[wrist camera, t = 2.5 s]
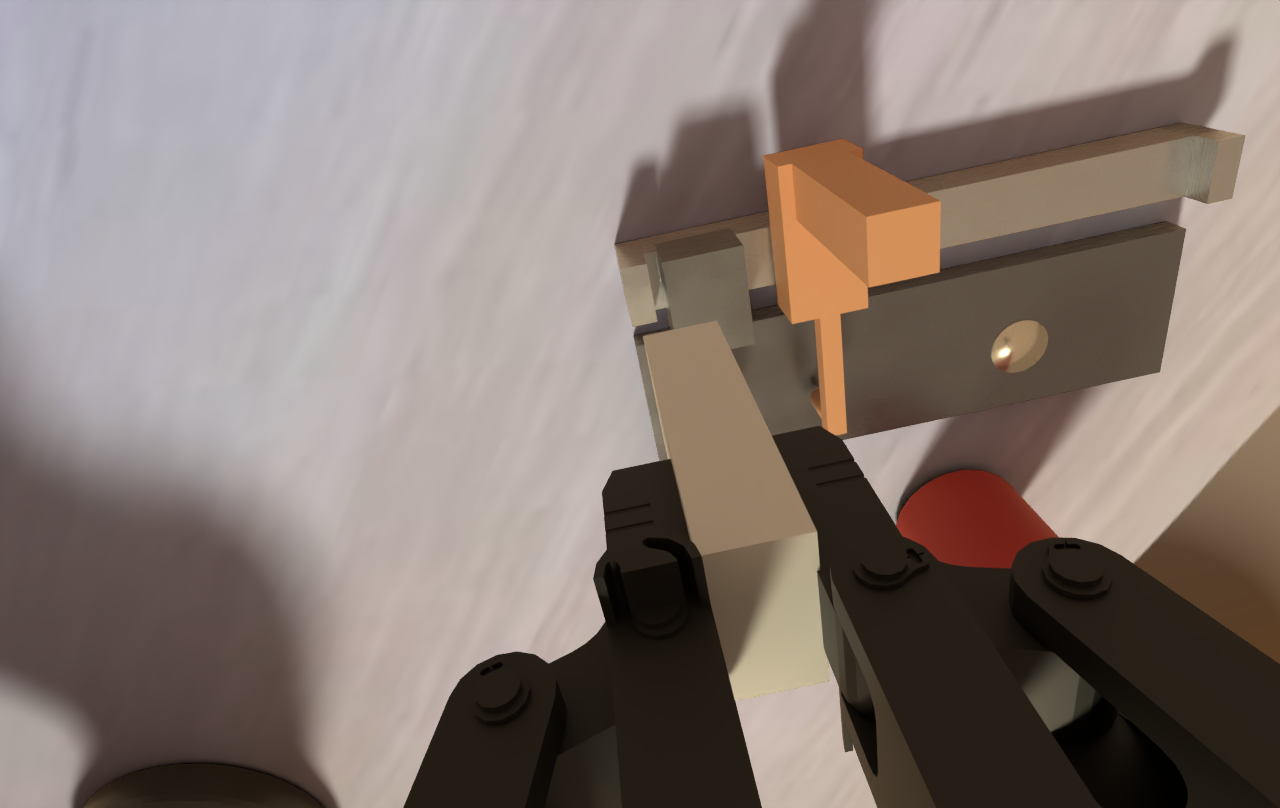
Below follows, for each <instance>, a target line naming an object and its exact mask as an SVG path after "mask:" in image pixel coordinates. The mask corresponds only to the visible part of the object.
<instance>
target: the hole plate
mask: <svg viewBox="0 0 1280 808" xmlns="http://www.w3.org/2000/svg"><path fill="white" fill-rule="evenodd" d="M1185 232H1186V229H1185V228H1182V227H1180V226H1177V225H1174V224H1172V223H1169V222H1166V221H1165V222H1161V223H1156V224H1151V225H1147V226H1142V227H1137V228H1133V229H1128V230H1123V231H1119V232H1114V233H1109V234H1105V235H1100V236H1095V237H1091V238H1086V239H1081V240H1077V241H1072V242H1067V243H1063V244H1058V245H1053V246H1049V247H1044V248H1039V249H1035V250H1030V251H1025V252H1021V253H1016V254H1011V255H1007V256H1002V257H997V258H993V259H988V260H983V261H979V262H974V263H969V264H965V265H960V266H955V267H951V268H946V269H941V270H940V272H939V273H935V274H930V275H925V276H921V277H916V278H911V279H907V280H902V281H897V282H893V283H888V284H883V285H879V286H874V287H868V308H865V309H861V310H856V311H851V312H847V313H842V314H840V316H841V334H842V352H843V370H844V388H845V406H846V424H847V433H845V434H840V435H836V436H837V437H839V438H840V439H842V440H845V439H850V438H854V437H859V436H864V435H868V434H873V433H878V432H882V431H887V430H892V429H896V428H901V427H906V426H910V425H915V424H920V423H924V422H929V421H934V420H938V419H943V418H948V417H952V416H957V415H962V414H966V413H971V412H976V411H980V410H985V409H990V408H994V407H999V406H1004V405H1008V404H1013V403H1018V402H1022V401H1027V400H1032V399H1036V398H1041V397H1046V396H1050V395H1055V394H1060V393H1064V392H1069V391H1074V390H1078V389H1083V388H1088V387H1092V386H1097V385H1102V384H1106V383H1111V382H1116V381H1120V380H1125V379H1130V378H1134V377H1139V376H1144V375H1148V374H1153V373H1158V372H1160V369H1161V363H1162V358H1163V352H1164V347H1165V341H1166V336H1167V330H1168V325H1169V320H1170V314H1171V309H1172V303H1173V298H1174V292H1175V287H1176V281H1177V276H1178V270H1179V265H1180V259H1181V254H1182V248H1183V243H1184V238H1185ZM751 313H752V322H753V330H754V338H755V344H753V345H748V346H744V347H739V348H734V349H731V351H732V353H733V355H734V358H735V360H736V362H737V364H738V366H739V368H740V370H741V372H742V374H743V376H744V379H745V381H746V383H747V385H748V387H749V389H750V391H751V393H752V395H753V398H754V400H755V402H756V404H757V406H758V408H759V410H760V412H761V414H762V416H763V419H764V421H765V423H766V425H767V427H768V429H769V431H770V433H771V435H777V434H781V433H786V432H791V431H796V430H801V429H805V428H810V427H815V426H821V427H822V419H821V417H820V416H819V414H818V412H817V411H816V409H815V408H814V406H813V405H812V403H811V401H810V395H811V393H812V392H813V391H814V390H816V389H819V375H818V362H817V349H816V335H815V322H814V320H809V321H805V322H800V323H795V324H791V322H790V321H789V319H788V318H787V317H786V315H785V314H784V312H783V311H782V310H781V308H780V307H779V306H778V305H773V306H769V307H764V308H759V309H755V310H751ZM669 330H670V328H666V329H662V330H657V331H652V332H648V333H643V334H638V335H634V340H635V345H636V350H637V355H638V360H639V364H640V369H641V374H642V379H643V383H644V388H645V393H646V398H647V403H648V407H649V412H650V417H651V422H652V427H653V431H654V436H655V441H656V446H657V451H658V455H659V460H660V461H663V460H667V459H668V458H667V453H666V449H665V444H664V439H663V434H662V429H661V424H660V419H659V414H658V409H657V404H656V399H655V394H654V390H653V385H652V380H651V375H650V370H649V365H648V360H647V355H646V350H645V345H644V340H643V336H646V335H650V334H655V333H660V332H665V331H669Z"/></svg>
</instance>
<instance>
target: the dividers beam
mask: <svg viewBox="0 0 1280 808" xmlns="http://www.w3.org/2000/svg"><path fill="white" fill-rule="evenodd" d="M1244 139H1245V135H1241V134H1236V133H1231V132H1226V131H1221V130H1216V129H1212V128H1207V127H1202V126H1197V125H1192V124H1187V123H1178V124H1173V125H1169V126H1164V127H1159V128H1155V129H1150V130H1145V131H1141V132H1136V133H1131V134H1127V135H1122V136H1117V137H1113V138H1108V139H1103V140H1099V141H1094V142H1089V143H1085V144H1080V145H1075V146H1071V147H1066V148H1061V149H1057V150H1052V151H1047V152H1043V153H1038V154H1033V155H1029V156H1024V157H1020V158H1015V159H1010V160H1006V161H1001V162H996V163H992V164H987V165H982V166H978V167H973V168H968V169H964V170H959V171H954V172H950V173H945V174H940V175H936V176H931V177H926V178H922V179H917V180H912V181H908V182H906V183H908V184H910V185H912V186H914V187H916V188H917V189H919V190H921V191H923V192H925V193H927V194H929V195H931V196H932V197H934V198H936V199H938V200H940V201H941V218H940V249H942V248H947V247H951V246H956V245H961V244H965V243H970V242H975V241H979V240H984V239H989V238H993V237H998V236H1003V235H1007V234H1012V233H1017V232H1021V231H1026V230H1031V229H1035V228H1040V227H1045V226H1049V225H1054V224H1059V223H1063V222H1068V221H1073V220H1077V219H1082V218H1087V217H1091V216H1096V215H1101V214H1105V213H1110V212H1115V211H1119V210H1124V209H1129V208H1133V207H1138V206H1143V205H1147V204H1152V203H1157V202H1161V201H1166V200H1171V199H1175V198H1180V197H1187V198H1190V199H1194V200H1197V201H1200V202H1203V203H1206V204H1209V203H1213V202H1218V201H1223V200H1227V199H1232V196H1233V192H1234V187H1235V182H1236V177H1237V173H1238V168H1239V163H1240V158H1241V153H1242V149H1243V144H1244ZM614 245H615V249H616V254H617V259H618V264H619V268H620V273H621V278H622V283H623V288H624V292H625V297H626V301H627V306H628V310H629V314H630V318H631V322H632V326H633V327H635V326H640V325H644V324H649V323H654V322H658V321H657V316H656V311H655V310H658V309H662V308H666V310H667V316H668V321H669V327H670V330H674V329H679V328H684V327H688V326H693V325H698V324H702V323H707V322H712V321H717V322H718V324H719V326H720V328H721V330H722V332H723V334H724V336H725V339H726V341H727V343H728V345H729V347H730V349H734V348H739V347H744V346H748V345H753V344H755V338H754V330H753V322H752V313H751V305H750V297H749V290H751V289H756V288H760V287H765V286H770V285H774V284H776V278H775V268H774V258H773V248H772V238H771V228H770V218H769V211H768V212H763V213H758V214H754V215H749V216H744V217H740V218H735V219H730V220H726V221H721V222H716V223H712V224H707V225H702V226H698V227H693V228H688V229H684V230H679V231H675V232H670V233H665V234H661V235H656V236H651V237H647V238H642V239H637V240H633V241H628V242H623V243H619V244H614Z"/></svg>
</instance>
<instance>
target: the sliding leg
mask: <svg viewBox="0 0 1280 808" xmlns="http://www.w3.org/2000/svg"><path fill="white" fill-rule="evenodd" d="M763 158H764V168H765V178H766V188H767V198H768V208H769V218H770V228H771V238H772V248H773V258H774V268H775V278H776V288H777V298H778V306H779V307H780V308H781V310H782V311H783V312H784V314H785V315H786V317H787V318H788V319H789V321H790V322H791V324H795V323H800V322H805V321H809V320H814V322H815V335H816V349H817V362H818V375H819V389H816V390H814V391H813V392H812V393H811V395H810V401H811V403H812V405H813V406H814V408H815V409H816V411H817V412H818V414H819V416H820V417H821V419H822V427H823V428H824V429H826V430H827V431H829V432H831V433H832V434H834V435H840V434H845V433H847V424H846V406H845V388H844V370H843V352H842V334H841V316H840V314H842V313H847V312H851V311H856V310H861V309H865V308H868V287H874V286H879V285H883V284H888V283H893V282H897V281H902V280H907V279H911V278H916V277H921V276H925V275H930V274H935V273H939V272H940V218H941V201H940V200H938V199H936V198H934V197H932V196H931V195H929V194H927V193H925V192H923V191H921V190H919V189H917V188H916V187H914V186H912V185H910V184H908V183H906V182H904V181H903V180H901V179H899V178H897V177H895V176H893V175H891V174H889V173H888V172H886V171H884V170H882V169H880V168H878V167H876V166H875V165H873V164H871V163H869V162H867V161H865V160H863V148H861V147H859V146H857V145H855V144H853V143H851V142H849V141H847V140H845V139H839V140H834V141H830V142H825V143H820V144H816V145H811V146H806V147H802V148H797V149H792V150H788V151H783V152H778V153H774V154H769V155H764V156H763Z"/></svg>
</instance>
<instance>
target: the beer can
mask: <svg viewBox="0 0 1280 808" xmlns="http://www.w3.org/2000/svg"><path fill="white" fill-rule="evenodd" d="M896 527H897V528H898V530H899V531H900V533H901V535H902V536H903V537H906V538H908V539H911V540H913V541H915V542H917V543H919V544H921V545H923V546H925V547H926V548H927V549H928V550H929V551H930V552H931V553H932V554H933V555H934V556H935V557H936V558H937V560H938V561H941V562H944V563H948V564H952V565H958V566H967V567H986V568H1011V565H1012V563H1013V561H1014V558H1015V556H1016V554H1017V552H1018V551H1019V550H1021V549H1022V548H1024V547H1025V546H1027V545H1028V544H1029V543H1031V542H1034V541H1038V540H1043V539H1047V538H1051V537H1055V538H1059V537H1058V536H1057V535H1056V534H1055V533H1054V531H1053V530H1052V529H1051V528H1050V527H1049V526H1048V525H1047V524H1046V523H1045V522H1044V521H1043V520H1042V519H1041V518H1040V516H1039V515H1038V514H1037V513H1036V512H1035V511H1034V510H1033V509H1032V508H1031V507H1030V506H1029V505H1028V504H1027V502H1026V501H1025V500H1024V499H1023V498H1022V497H1021V496H1020V495H1019V494H1018V493H1017V492H1016V491H1015V490H1014V488H1013V487H1012V486H1011V485H1009V484H1008V483H1007V482H1006V481H1005V480H1004V479H1003V478H1001V477H1000V476H998V475H995V474H992V473H989V472H986V471H983V470H959V471H955V472H951V473H948V474H944V475H941V476H939V477H937V478H935V479H933V480H931V481H929V482H928V483H926V484H924V485H923V486H922V487H921V488H920V489H919V490H917V491H916V492H915V493H914V494H913V495H912V496H911V497H910V498H909V500H908V501H907V503H906V504H905V505H904V507H903V508H902V510H901V511H900V514H899V518H898V521H897V524H896Z"/></svg>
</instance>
